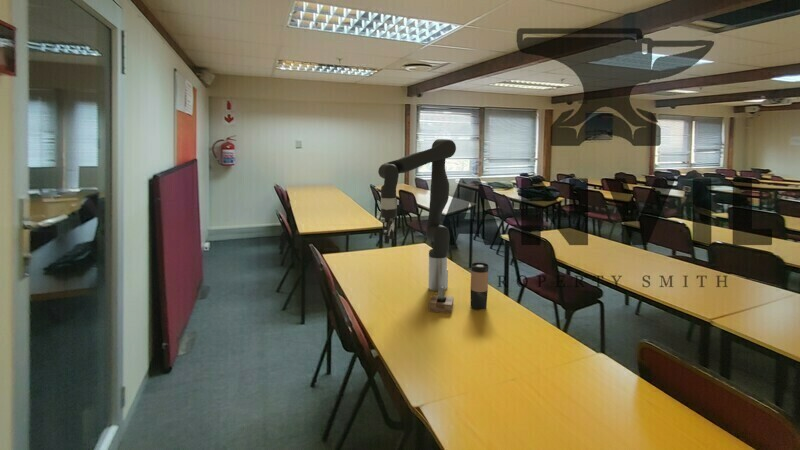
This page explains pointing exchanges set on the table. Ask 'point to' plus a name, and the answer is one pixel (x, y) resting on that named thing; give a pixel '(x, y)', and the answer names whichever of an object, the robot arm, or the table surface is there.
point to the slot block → (441, 304)
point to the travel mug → (479, 285)
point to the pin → (441, 294)
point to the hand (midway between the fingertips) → (389, 241)
